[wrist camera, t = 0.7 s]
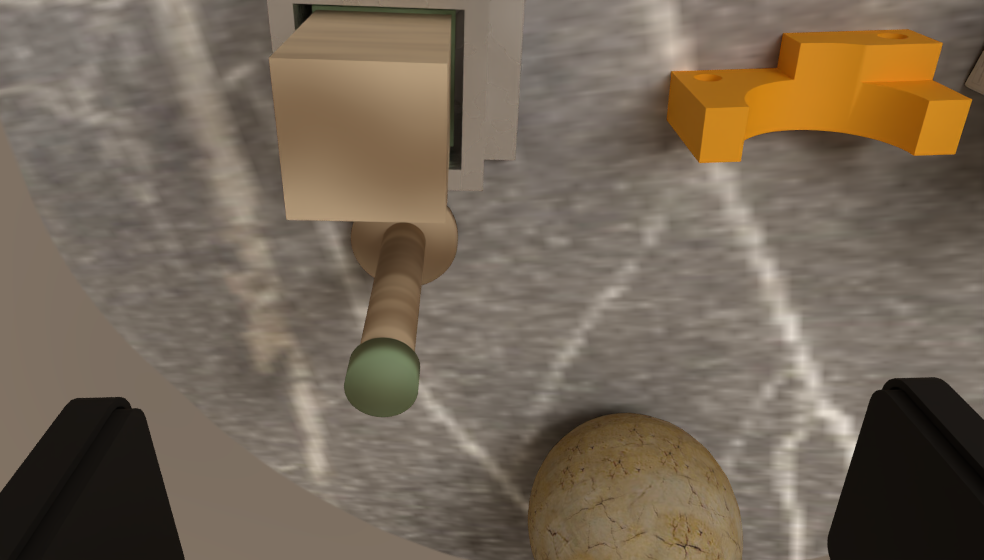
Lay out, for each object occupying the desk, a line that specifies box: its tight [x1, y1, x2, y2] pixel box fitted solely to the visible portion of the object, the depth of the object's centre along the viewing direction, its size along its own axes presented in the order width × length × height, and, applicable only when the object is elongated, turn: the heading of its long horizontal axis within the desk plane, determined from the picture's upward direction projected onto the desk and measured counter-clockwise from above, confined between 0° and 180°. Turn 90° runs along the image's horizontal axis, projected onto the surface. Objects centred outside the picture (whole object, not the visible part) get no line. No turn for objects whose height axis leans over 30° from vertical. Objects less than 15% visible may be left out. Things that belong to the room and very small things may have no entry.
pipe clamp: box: [667, 29, 972, 163], centre depth 36 cm, size 12×4×6 cm, turn 91°
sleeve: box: [267, 0, 525, 191], centre depth 32 cm, size 12×12×10 cm
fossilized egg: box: [528, 413, 743, 560], centre depth 44 cm, size 13×13×15 cm
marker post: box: [344, 206, 458, 417], centre depth 36 cm, size 6×6×14 cm
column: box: [269, 4, 456, 223], centre depth 29 cm, size 6×6×15 cm
